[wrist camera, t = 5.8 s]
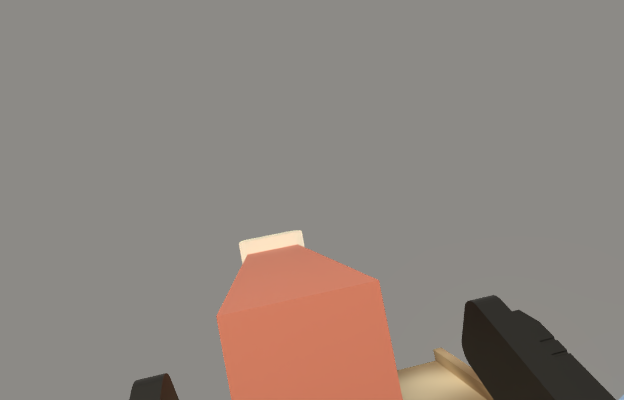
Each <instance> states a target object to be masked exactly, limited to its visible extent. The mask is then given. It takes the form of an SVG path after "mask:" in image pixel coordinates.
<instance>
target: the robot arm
mask: <svg viewBox="0 0 624 400" xmlns="http://www.w3.org/2000/svg"><path fill="white" fill-rule="evenodd" d="M462 333H463V334H462V347H463V351H464V354H465V357H466V359H467V361H468V362H469V364H470V366H471V367H472V369H473V370H474V372H475V373H476V375H477V376H478V378H479V379H480V380H481V382H482V383H483V385H484V386H485V388H486V389H487V391H488V392H489V394H490V395H491V397H492V398H493V400H616V399H615V398H613V396H612V395H611V394H610V393H609V392H608V391H607V390H606V389H605V388H604V387H603V386H602V385H601V384H600V383H599V382H598V381H597V380H596V379H595V378H594V377H593V376H592V375H591V374H590V373H589V372H588V371H587V370H586V369H585V368H584V367H583V366H582V365H581V364H580V363H579V362H578V361H577V360H576V359H575V358H574V357H573V356H572V355H571V354H568V353H567V350H566V349H565V348H564V346H562V344H561V343H560V342H559V341H558V340H555V339H554V336H553V335H552V334H551V333H550V332H549V331H548V330H547V329H546V328H545V327H544V326H543V325H542V324H541V323H540V322H539V321H537V320H535V319H534V318H532V317H530V316H528V315H527V314H525V313H523V312H522V311H520V310H516V311H511V310H510V309H509V308H508V307H507V306H506V305H505V304H504V303H503V302H502V301H501V299H500V298H498V297H497V296H494V295H492V296H488V297H483V298H479V299H475V300H471V301H468V302H467V303H466V304H465V312H464V322H463V332H462ZM129 400H179V399H178V396H177V394H176V391H175V389H174V386H173V384H172V381H171V379H170V376H169V375H168V374H167V373H166V374H161V375H157V376H153V377H149V378H144V379H140V380H136V381H135V382H134V384H133V387H132V390H131V395H130V399H129Z"/></svg>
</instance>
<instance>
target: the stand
mask: <svg viewBox="0 0 624 400" xmlns="http://www.w3.org/2000/svg"><path fill="white" fill-rule="evenodd" d="M434 355H435V360H436V361H433V362H429V363H425V364H421V365H417V366H413V367H410V368H405V369H402V370H397V373H398V378H399V383H400V388H401V393H402V398H403V400H493V398H492V397H491V395H490V394H489V392H488V391H487V389H486V388H485V386H484V385H483V383H482V382H481V380H480V379H479V378H478V376H477V375H476V373H475V372H474V370H473V369H472V368H471V367H470V366H468V365H466V364H465V363H464V362H462V361H461V360H459V359H458V358H456V357H455V356H453V355H452V354H450V353H449V352H447V351H445V350H444V349H443V348H438V349H434Z"/></svg>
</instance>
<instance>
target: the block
mask: <svg viewBox="0 0 624 400" xmlns="http://www.w3.org/2000/svg"><path fill="white" fill-rule="evenodd" d="M239 247H240V252H241V257H242V263H243V264H242V267H241V268H240V270H239V272H238V274H237V277H236V278H235V280H234V282H233V284H232V286H231V288H230V290H229V292H228V294H227V297H226V298H225V300H224V302H223V304H222V306H221V308H220V310H219V312H218V314H217V316H216V317H217V323H218V328H219V334H220V339H221V344H222V349H223V356H224V361H225V366H226V372H227V377H228V383H229V388H230V394H231V399H232V400H403V398H402V393H401V388H400V383H399V378H398V373H397V369H396V363H395V359H394V354H393V349H392V344H391V339H390V334H389V329H388V324H387V319H386V314H385V309H384V304H383V299H382V294H381V289H380V284H379V280H377V279H375V278H372V277H370V276H368V275H366V274H363V273H361V272H359V271H357V270H354V269H352V268H350V267H348V266H345V265H343V264H341V263H339V262H336V261H334V260H332V259H330V258H327V257H325V256H323V255H321V254H318V253H316V252H314V251H312V250H309V249H307V248H305V247H304V242H303V236H302V231H299V230H294V231H289V232H283V233H279V234H273V235H268V236H264V237H259V238H253V239H248V240H243V241H241V242H240V243H239Z"/></svg>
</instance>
